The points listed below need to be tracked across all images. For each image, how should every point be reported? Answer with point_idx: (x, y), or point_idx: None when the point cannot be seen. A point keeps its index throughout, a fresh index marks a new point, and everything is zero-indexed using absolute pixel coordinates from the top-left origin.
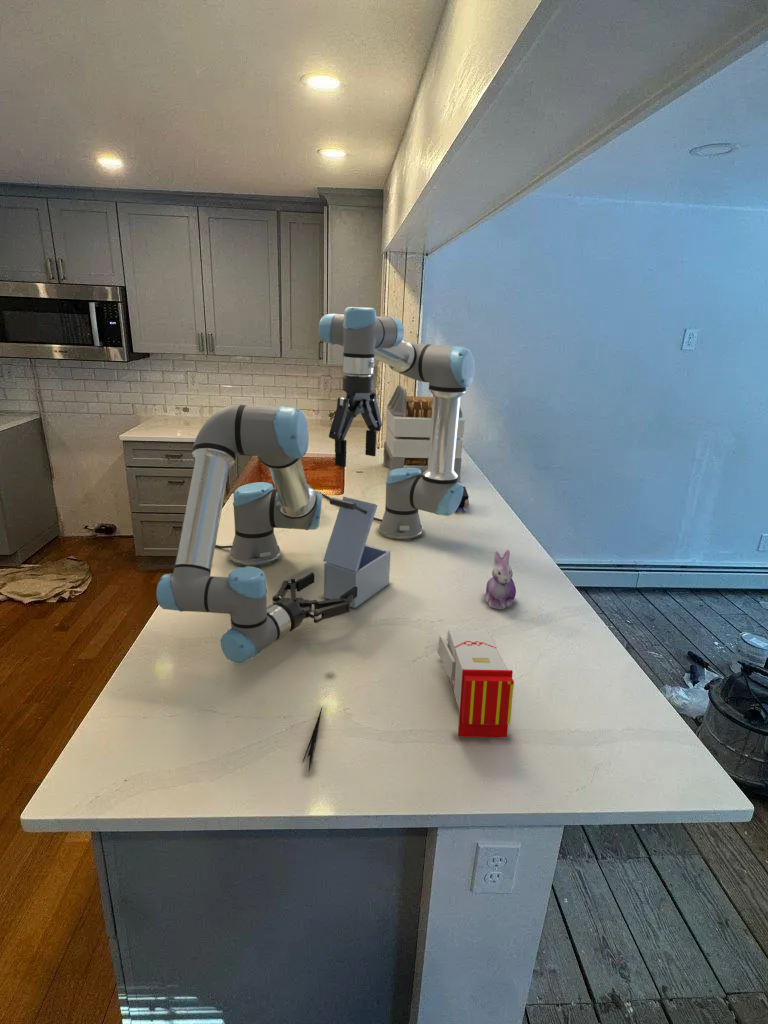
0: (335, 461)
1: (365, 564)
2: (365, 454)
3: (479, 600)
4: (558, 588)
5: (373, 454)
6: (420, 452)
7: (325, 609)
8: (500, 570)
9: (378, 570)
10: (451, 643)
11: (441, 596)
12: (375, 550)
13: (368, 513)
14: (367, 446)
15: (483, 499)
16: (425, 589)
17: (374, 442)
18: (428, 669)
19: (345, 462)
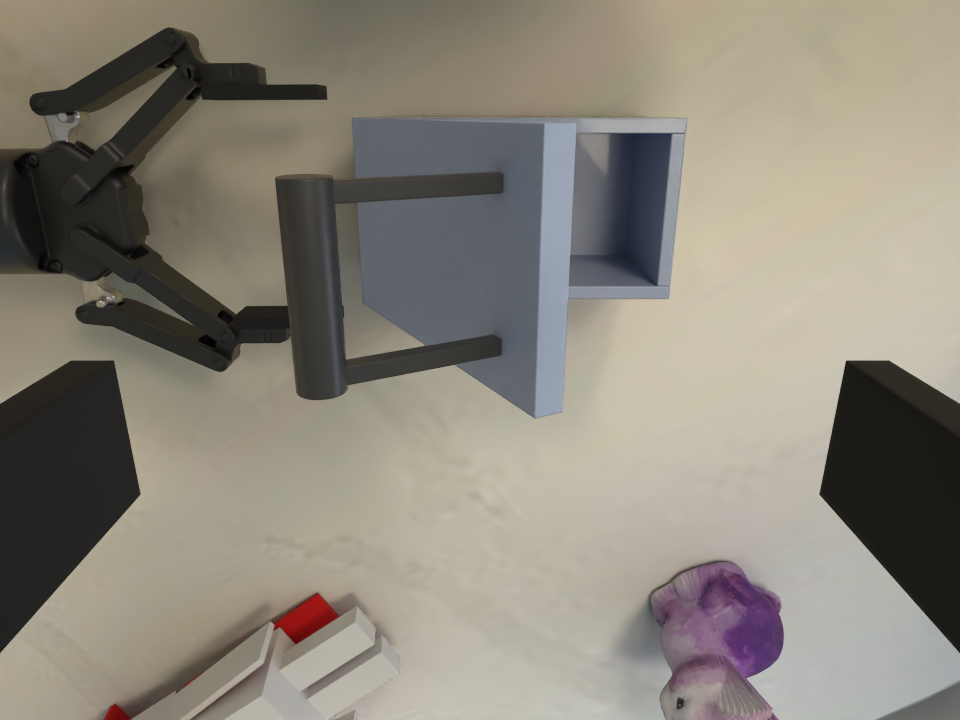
0: (38, 386)
1: (645, 157)
2: (848, 363)
3: (680, 553)
4: (879, 697)
5: (835, 499)
6: None
7: (123, 329)
8: (684, 715)
9: None
10: (212, 718)
11: (642, 454)
12: (660, 221)
13: (496, 364)
14: (921, 451)
15: None
16: (662, 391)
17: (947, 637)
18: (262, 579)
19: (100, 525)
